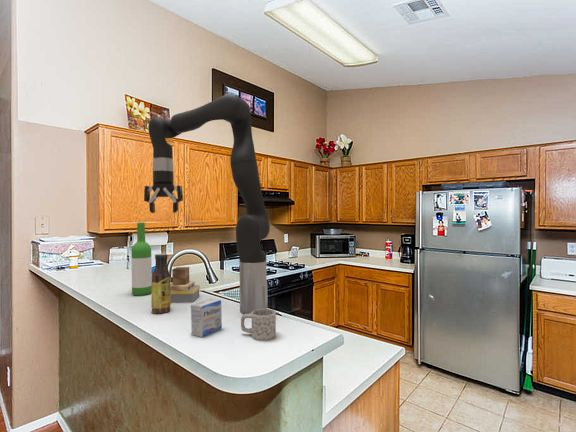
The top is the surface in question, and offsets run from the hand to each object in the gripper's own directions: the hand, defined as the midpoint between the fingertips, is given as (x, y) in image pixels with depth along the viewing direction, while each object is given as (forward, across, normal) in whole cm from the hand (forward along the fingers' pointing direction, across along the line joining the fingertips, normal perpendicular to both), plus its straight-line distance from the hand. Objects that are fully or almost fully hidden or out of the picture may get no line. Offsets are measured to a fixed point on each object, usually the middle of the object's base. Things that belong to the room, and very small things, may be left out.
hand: (163, 212), depth 132 cm
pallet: (+30, -6, -2) cm, 30 cm away
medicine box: (+34, -25, +34) cm, 54 cm away
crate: (+28, -6, -2) cm, 29 cm away
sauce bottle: (+34, -4, +14) cm, 37 cm away
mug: (+34, -40, +37) cm, 64 cm away
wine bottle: (+34, +14, -11) cm, 39 cm away
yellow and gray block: (+34, -6, -2) cm, 35 cm away
